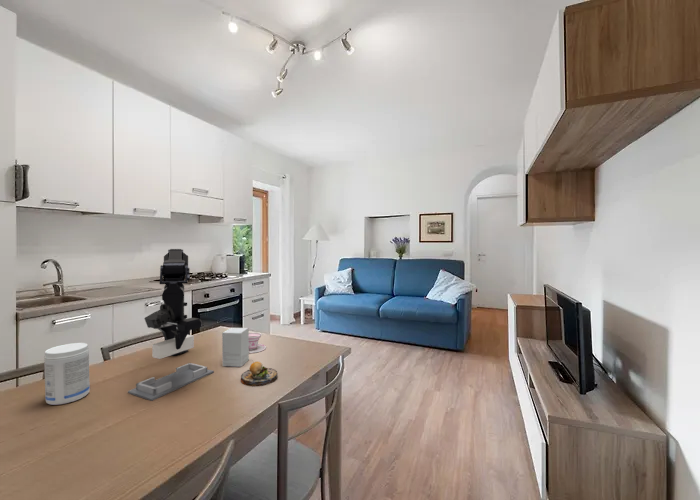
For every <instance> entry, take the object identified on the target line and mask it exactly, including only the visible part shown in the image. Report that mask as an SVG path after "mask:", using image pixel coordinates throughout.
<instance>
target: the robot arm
mask: <svg viewBox="0 0 700 500" xmlns="http://www.w3.org/2000/svg"><path fill="white" fill-rule="evenodd" d="M167 252H168V253H166V254H164V256H163V261H162V262H163V263H162V265H160V268H159V269H160V271H159V285H164V287H163V292H162V294H161V299H162V301H163V303H161V304H160V306H159V310H156V311H154V312H152V313H151V314H148V315H147V316H145V317H144V321H145V324H146V326H147V328H148V329H155V330H159V331H160V332H161V333H162V335H163V337H164V341H166V340H169V339H173V338H175V343H176V349H177V350H178V349H180V348H181V346H182V344H183V342H184V340H185V338H186V336H187V335H191V334H190V333H191V331H193V330H197V329H201V328H202V323H203V322H202V319H200V318H197V317H189V318H188V315H187V314H185V307H187V306H188V302H185V285H184V284H188V281H190V273H191V272H190V270H191V269H190V267H189V256H188V255H187V254H186V253H185V252H184V249H182V248H170V249H168V250H167ZM188 352H189V349H188V350H185V351H182V352H179V353H176V354H173V355H171V356H173V357H176V356H179V355H181V354H185V353H188Z"/></svg>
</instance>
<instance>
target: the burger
mask: <svg viewBox="0 0 700 500" xmlns="http://www.w3.org/2000/svg"><path fill="white" fill-rule="evenodd" d="M251 361H252V363H251V364H250V366H249V369H247V370H246V371H244V372H243V373H241V375H240V383H242V384H243V386H244V385H245V386H248V387H263V386H266V385H268V384H272V383H274V382H275V381H276V378H277V376H278V371H277V370H276V369H275V368H271V367H270V368H269V367H266V366H263V362H260V361H253V360H252V359H251Z"/></svg>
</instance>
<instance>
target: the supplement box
mask: <svg viewBox="0 0 700 500" xmlns="http://www.w3.org/2000/svg"><path fill="white" fill-rule="evenodd" d="M249 333H250V332H249V327H230V328H228V329H227V330H225V331H223V332H222V333H221V335H222V336H221V337H222V338H221V341H222V342H221V345H222V348H221V349H222V357H221V358H222V367H233V368H234V367H236V368H237V367H238V368H239V367H243V366H244V365H245V364H246V363H247V362H248V361H249V360H250V359H249V357H250V356H249V355H250V353H249V351H250V350H249Z"/></svg>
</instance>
